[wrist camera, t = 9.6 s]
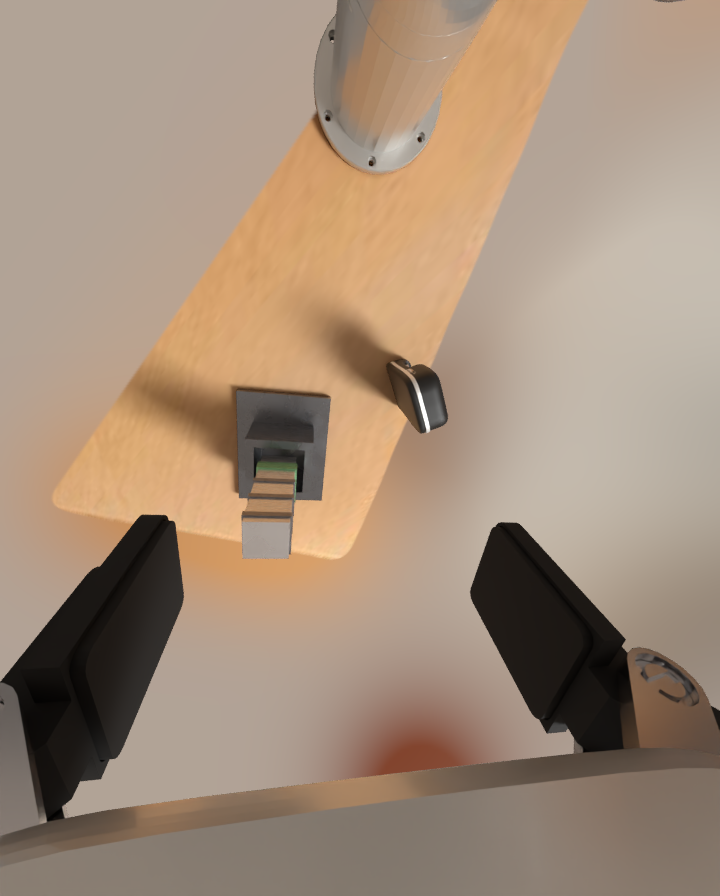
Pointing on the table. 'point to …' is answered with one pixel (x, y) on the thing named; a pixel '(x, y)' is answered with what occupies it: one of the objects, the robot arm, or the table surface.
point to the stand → (283, 436)
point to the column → (270, 509)
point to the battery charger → (418, 395)
